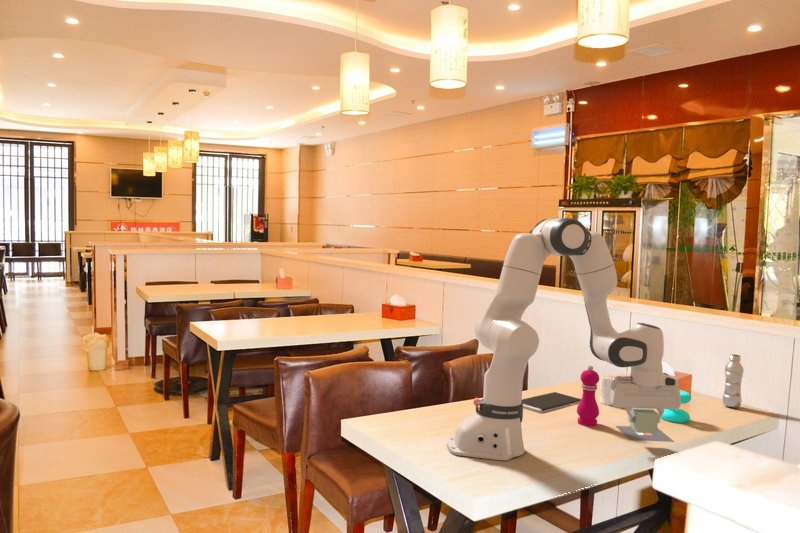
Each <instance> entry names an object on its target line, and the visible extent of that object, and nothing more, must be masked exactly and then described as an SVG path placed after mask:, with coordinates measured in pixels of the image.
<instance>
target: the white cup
mask: <svg viewBox="0 0 800 533" xmlns="http://www.w3.org/2000/svg"><path fill="white" fill-rule="evenodd" d="M616 376H617V375H612V374H602V375H599V402H600V403H601V405H605V404H606V406H613V405H612V404H611V403H610V395H611V390H612V389H611V381H612V379H613V378H615V377H616ZM615 380H617V379H615Z"/></svg>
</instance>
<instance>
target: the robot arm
mask: <svg viewBox="0 0 800 533" xmlns="http://www.w3.org/2000/svg"><path fill="white" fill-rule="evenodd" d="M550 255H552V256H555V257H556V256H557V257H560V256H562V257H563V256H566V257H567V256H568V257H569V258H570V260H571V262H572V263H573V266H574V269H575V273H576V277H577V281H578V283H579V286H580V290H581V292H582V296H583V302H584V306H585V310H586V315H587V319H588V323H589V328H590V337H589V347H590V351H591V353H592V355H593V356H594V357H595V358H597V360H599V361H603V362H607V363H608V364H610V365H613V366H614V367H617V368H629V367H630V376H625V375H624V376H621V375H615V376H616V377H615V378H613V379H612V381H611V389H612V390H611V395H610V403H611V404H612V405H611V406H612V407H614V408H624V411H625V412H626V414H627V415H628V416H627V421H628V423H630V422H635V416H633V415H631V411H632V408H650V409H653V410H654V409H655V410H656V411H657V413H658V424H660V422H661V419H662V418H661V416H662V415H663V413H664V409H678V408H679V409H680V407H681V405H682V404H681V395H680V390H681V389H680V388H679V382H680V381H679V379H678V378H676V377H675V376H673V375H671V374H669V373H666V372H663V371H664V370H663V369H664V368H663V367H664V366H663V365H662V364H663V363H662V361H663V358H664V357H663V356H664V352H665V351H664V346H665V342H664V341H665V340H664V333H663V330H662V329H661V328H660V327H658V326H656V325H652V324H651V323H650V324H649V323H646V322H637V323H635V325H634V326H632V327H630V328H629V329H627V330H625V331H623V332H618V331H617V330H616V328H614V327H613V325H612V323H611V322H612V321H611V318H610V315H609V314H610V313H609V309H608V304H607V301H608V300H607V299H608V297H609V296H610V295H611V294H612V293H614V291H615V290H616V288H617V285H618V276H617V270H616V266H615V263H614V260H613V257H612V256H613V255H612V254H611V251H610V249H609V247H608V245H607V243H606V240H605V238H604V237H603V236H602V235H601V233H599V232H597V231H594V230H593V231H592V230H588V229H587V227H585V225H584V224H583V223H582V222H581V221H579V220H577V219H575V218H571V217H552V218H546V219H543V220H541V221H539V222H538V223H536V224H535V225H534V226H533V228H532V229H531V230H530V231H529V232H521V233H518V234H516V235H515V236H514V237H513V238H512V240H511V243H510V245H509V247H508V250H507V252H506V255H505V257H504V260H503V265H502V267H501V268H502V269H501V272H500V277H499V280H498V283H497V288H496V290H495V294H494V295H493V298H492V299H491V302H490V304H489V306H488V308H487V309H486V311H485V313H484V314H483V315H482V316H481V317H480V318H479V319H478V320H477V321H476V324H475V326H474V333H475V338H476V339H477V340H478V341H479V343H480V344H482V346H483V347H484V348H486V349H488V350H490V351H492V352H493V353H492V354H493V355H492V360H491V363H490V366H489V368H488V369H487V370H486V371H485V372H484V376H483V377H484V378H483V396H482V397H483V398H482V399H479V397H475V398H474V399H473V401H472V402H473V405H474V406H475V411H474V413H471V414H470V415H469V416H467V417H465V419H464V418H463V420H461V421H460V422H459V423H458V425H457V426H456V431H455V434H454V435H451V436H450V437H449V438H448V439H447V444H446V447H447V450H448V451H449V452H450V453H451V454H453V455H456V456H461V457H469V458H478V459H480V458H481V459H485V460H486V459H489V460H495V461H509V460H510V459H512V458H516V457H519V456H522V455H524V453H525V452H526V449H525V445H524V439H523V431H522V422H523V418H524V408H523V403H522V399H523V385H524V384H523V383H524V377H525V376H524V375H525V372H526V369H527V365H528V362H529V360H530V358H531V357H532V356H533V355H534V356H535V353H536V352H537V351H538V348H539V346H540V344H539V343H540V338H539V335H538V332H537V330H536V329H534V327H532V326H531V325H530V324H529V323H527V322H525V321H524V320H521V319H522V317H523V314H525V311H526V310H527V309H528V307H529V306H531V305H532V304H533V303H534V301H535V299H536V295H537V290H538V287H539V284H540V283H539V282H540V278H541V275H542V271H543V267H544V263H545V261H546V260H547V258H548V257H549V256H550ZM615 379H617V380H615Z"/></svg>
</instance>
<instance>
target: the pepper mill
mask: <svg viewBox="0 0 800 533" xmlns="http://www.w3.org/2000/svg"><path fill="white" fill-rule="evenodd" d="M580 381H581V382H582V383H581V389H582V396H581V398H580V399H581V401H580V402H579V403H577V404H578V405H577V408H576V413H577V415H578V417H577V424H578V425H580V426H583V427H588V428H589V427H590V428H591V427H593V428H594V427H597V426H598V419H597V418H598V417H599V415H600V408H599V405H598V403H597V401H596V391H597V390H598V385H597V384H598V383H600V375H599V373H598V372H597V371H596V370H594V366H592V365H587V369H586V370H583V371H582V372H581V374H580Z"/></svg>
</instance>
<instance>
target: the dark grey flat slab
mask: <svg viewBox="0 0 800 533" xmlns="http://www.w3.org/2000/svg"><path fill="white" fill-rule="evenodd" d="M581 399H582V398H579V397H575V396H572V395H569V394H565V393H560V392H557V391H553V392H549V393H544V394H540V395H535V396H532V397H526V398H522V403H523V410H528V411H532V412H535V413H538V414H543V413H547V412H551V411H554V410H558V409H562V408H565V407H569V405H570V406H572V404H574V405H577V404H579V402H580V401H581ZM576 403H577V404H576Z"/></svg>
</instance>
